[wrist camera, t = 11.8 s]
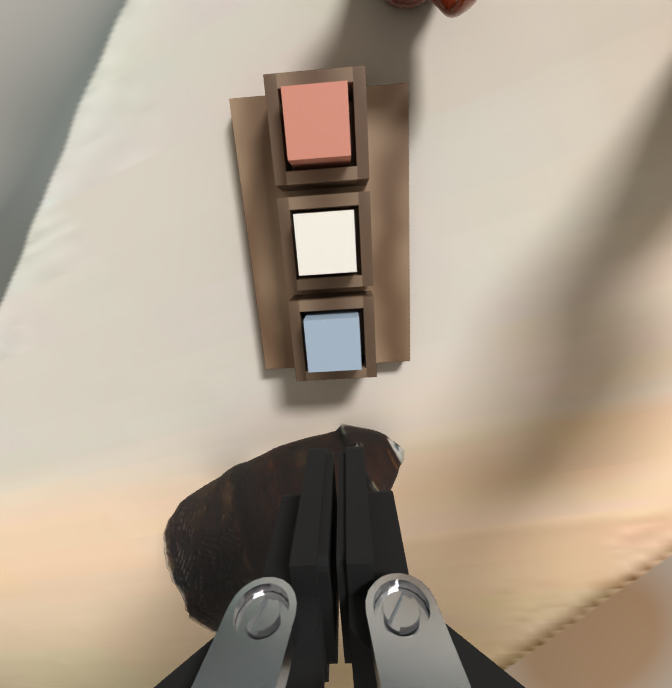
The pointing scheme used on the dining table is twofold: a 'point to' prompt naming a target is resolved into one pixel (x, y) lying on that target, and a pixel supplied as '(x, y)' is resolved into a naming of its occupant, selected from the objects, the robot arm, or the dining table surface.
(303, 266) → the ivory key
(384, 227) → the keypad
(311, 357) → the slate key
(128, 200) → the dining table surface
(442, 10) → the mug
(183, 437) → the dining table surface
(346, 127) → the brick key
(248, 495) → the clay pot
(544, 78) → the dining table surface
